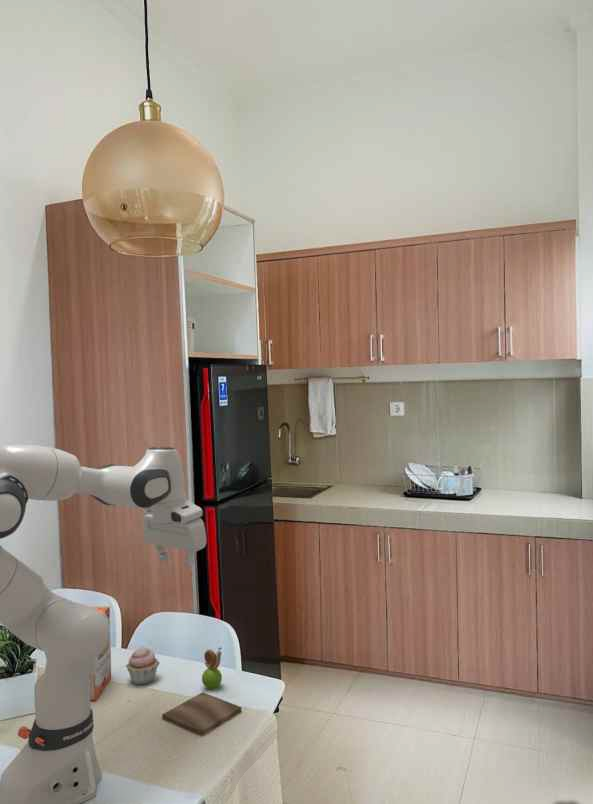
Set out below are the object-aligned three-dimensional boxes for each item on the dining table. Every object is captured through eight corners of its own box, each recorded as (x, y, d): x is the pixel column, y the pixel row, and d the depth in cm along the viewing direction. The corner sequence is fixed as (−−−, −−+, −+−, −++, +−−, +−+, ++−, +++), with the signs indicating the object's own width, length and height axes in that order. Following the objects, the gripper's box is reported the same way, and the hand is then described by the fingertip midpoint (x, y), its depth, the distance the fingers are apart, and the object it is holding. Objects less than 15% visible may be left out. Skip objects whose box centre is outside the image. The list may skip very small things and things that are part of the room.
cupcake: (150, 669, 193) (149, 636, 192) (165, 680, 186) (164, 646, 185) (120, 679, 187) (119, 645, 187) (134, 691, 180) (133, 655, 179)
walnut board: (201, 736, 156) (201, 731, 156) (162, 718, 165) (162, 714, 165) (241, 711, 167) (241, 707, 167) (202, 696, 176) (202, 692, 176)
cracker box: (97, 701, 175) (94, 623, 174) (75, 701, 175) (71, 624, 174) (113, 677, 189) (110, 605, 188) (92, 677, 189) (89, 605, 188)
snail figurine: (215, 695, 176) (213, 651, 176) (198, 689, 180) (196, 645, 180) (228, 687, 181) (227, 644, 180) (212, 681, 184) (210, 639, 184)
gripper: (133, 509, 168) (140, 561, 170) (188, 517, 155) (195, 573, 157) (152, 502, 173) (159, 552, 175) (207, 509, 160) (213, 564, 162)
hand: (176, 562), depth 166 cm, fingers open, 8 cm apart
